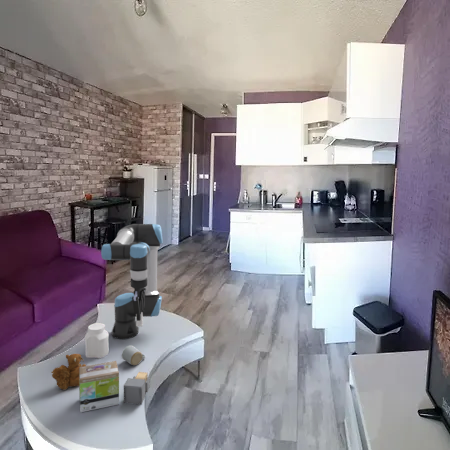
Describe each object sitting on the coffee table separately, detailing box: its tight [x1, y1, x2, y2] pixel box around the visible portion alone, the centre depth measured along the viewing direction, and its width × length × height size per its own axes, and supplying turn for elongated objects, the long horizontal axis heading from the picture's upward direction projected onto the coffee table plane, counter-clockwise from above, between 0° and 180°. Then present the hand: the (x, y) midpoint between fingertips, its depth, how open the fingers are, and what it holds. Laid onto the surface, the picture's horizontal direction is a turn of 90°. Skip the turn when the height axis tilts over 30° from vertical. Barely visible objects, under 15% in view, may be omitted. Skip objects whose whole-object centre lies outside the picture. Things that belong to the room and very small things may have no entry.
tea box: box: [78, 360, 120, 413], centre depth 144 cm, size 15×10×15 cm
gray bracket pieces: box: [123, 375, 151, 405], centre depth 150 cm, size 12×8×8 cm, turn 175°
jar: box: [84, 322, 110, 359], centre depth 181 cm, size 12×10×15 cm
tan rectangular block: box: [135, 371, 149, 382], centre depth 151 cm, size 12×4×6 cm, turn 174°
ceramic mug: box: [121, 344, 146, 366], centre depth 176 cm, size 11×8×8 cm
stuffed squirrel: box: [51, 353, 87, 391], centre depth 155 cm, size 10×14×13 cm
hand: (139, 325), depth 165 cm, fingers closed
